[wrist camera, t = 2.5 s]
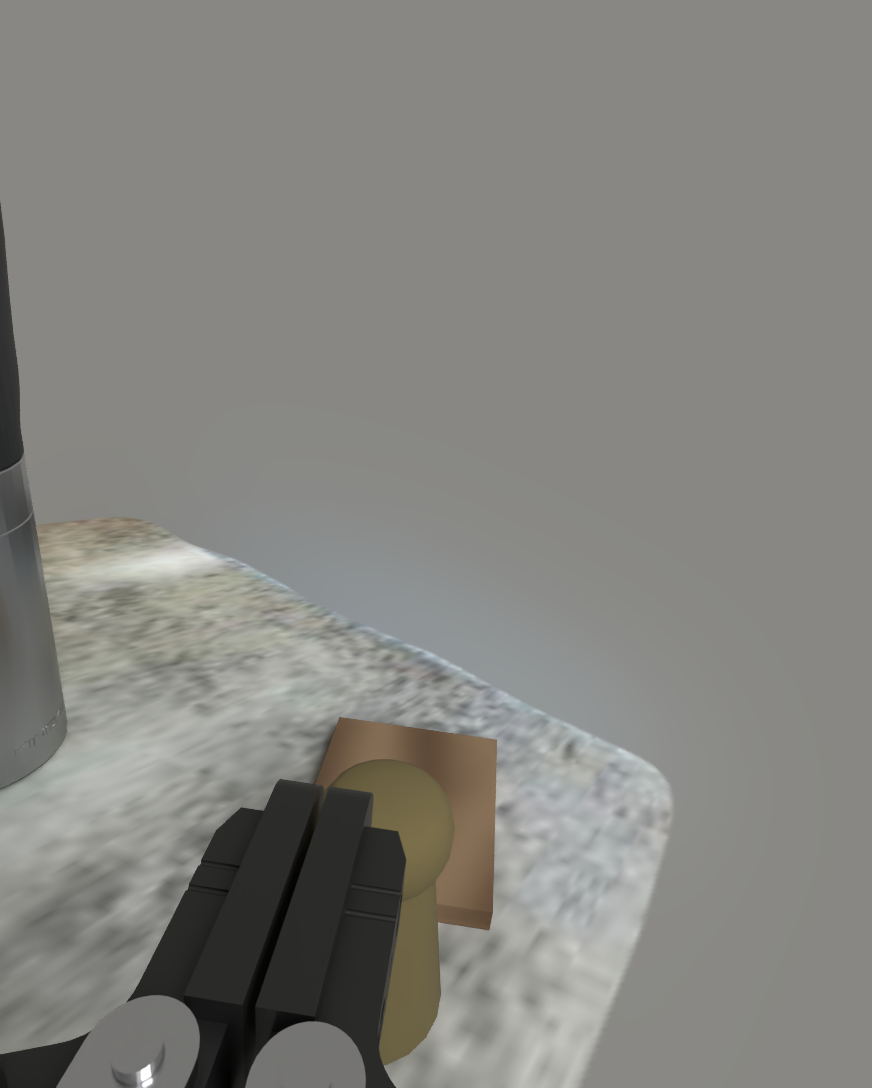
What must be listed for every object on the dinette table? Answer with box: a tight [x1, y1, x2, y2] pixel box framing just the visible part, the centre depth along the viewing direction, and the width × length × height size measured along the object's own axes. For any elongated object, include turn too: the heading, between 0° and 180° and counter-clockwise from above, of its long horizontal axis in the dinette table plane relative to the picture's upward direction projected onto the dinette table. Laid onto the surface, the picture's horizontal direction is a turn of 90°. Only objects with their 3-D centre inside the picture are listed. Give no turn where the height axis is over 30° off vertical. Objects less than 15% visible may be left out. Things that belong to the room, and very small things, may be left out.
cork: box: [324, 759, 455, 1065], centre depth 26 cm, size 6×6×11 cm
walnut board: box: [315, 717, 497, 930], centre depth 37 cm, size 10×12×1 cm
